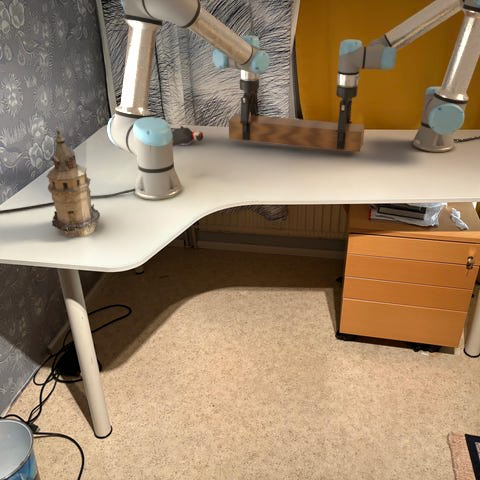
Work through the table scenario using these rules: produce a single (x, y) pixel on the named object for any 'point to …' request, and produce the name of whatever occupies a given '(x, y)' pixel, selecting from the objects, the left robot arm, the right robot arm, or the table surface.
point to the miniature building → (70, 193)
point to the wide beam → (297, 132)
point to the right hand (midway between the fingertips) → (342, 144)
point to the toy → (185, 136)
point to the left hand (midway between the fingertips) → (249, 135)
